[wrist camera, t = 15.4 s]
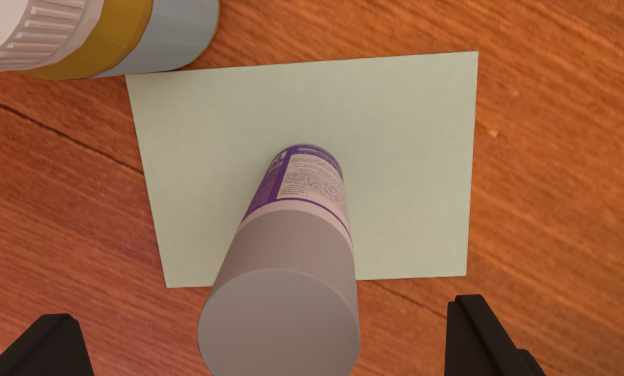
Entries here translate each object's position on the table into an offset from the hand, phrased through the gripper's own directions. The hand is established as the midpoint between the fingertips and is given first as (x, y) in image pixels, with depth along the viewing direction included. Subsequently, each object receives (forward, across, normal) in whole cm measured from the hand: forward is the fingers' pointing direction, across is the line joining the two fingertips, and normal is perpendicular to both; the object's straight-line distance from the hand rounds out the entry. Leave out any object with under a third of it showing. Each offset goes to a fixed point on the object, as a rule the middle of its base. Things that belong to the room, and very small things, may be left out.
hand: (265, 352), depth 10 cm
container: (+16, 0, 0) cm, 16 cm away
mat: (+16, 0, +1) cm, 16 cm away
